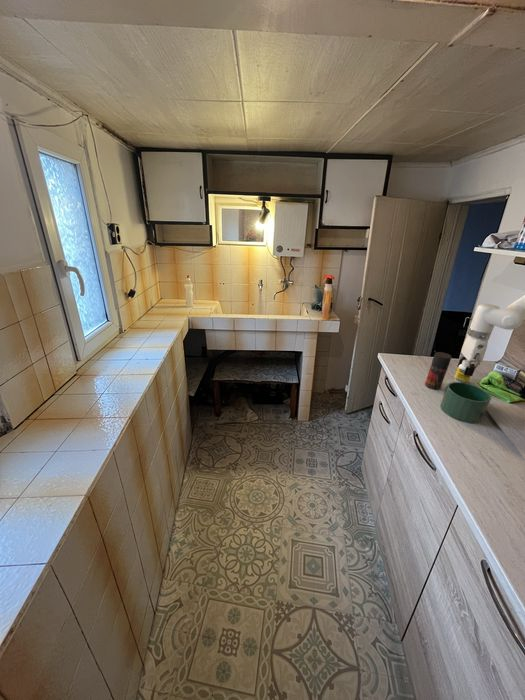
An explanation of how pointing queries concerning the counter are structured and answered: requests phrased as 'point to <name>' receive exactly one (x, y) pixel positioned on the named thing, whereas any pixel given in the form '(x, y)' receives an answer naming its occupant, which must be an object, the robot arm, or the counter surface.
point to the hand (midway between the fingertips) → (464, 371)
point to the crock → (465, 402)
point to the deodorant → (437, 370)
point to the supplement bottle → (462, 372)
